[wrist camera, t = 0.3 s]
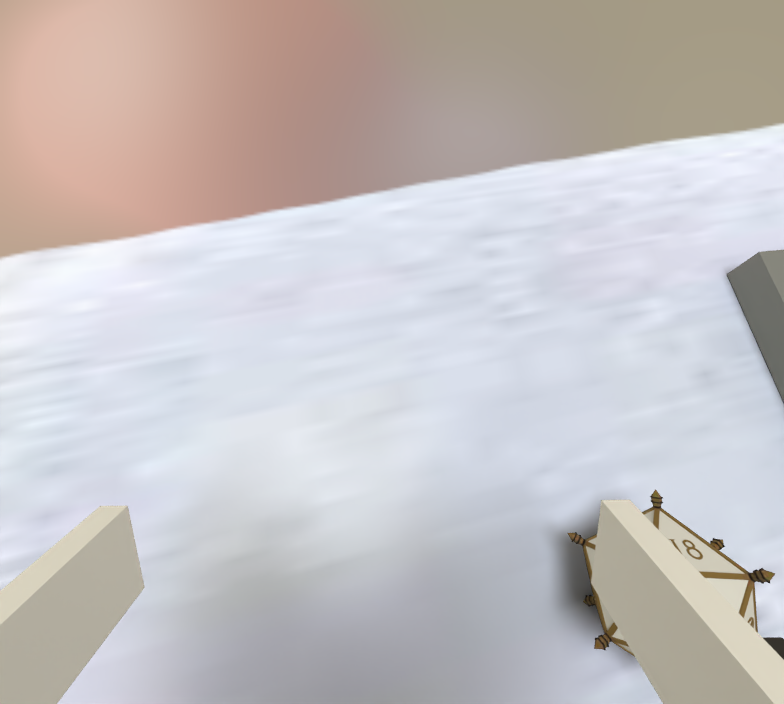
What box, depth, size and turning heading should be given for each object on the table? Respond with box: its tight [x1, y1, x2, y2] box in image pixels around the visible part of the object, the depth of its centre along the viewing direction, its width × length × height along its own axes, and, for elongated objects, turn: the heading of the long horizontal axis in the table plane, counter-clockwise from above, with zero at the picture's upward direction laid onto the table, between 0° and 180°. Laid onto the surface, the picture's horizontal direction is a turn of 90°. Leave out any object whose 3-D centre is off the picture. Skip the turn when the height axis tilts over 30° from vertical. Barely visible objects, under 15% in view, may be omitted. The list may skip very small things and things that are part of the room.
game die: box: [568, 490, 775, 657], centre depth 20 cm, size 9×8×10 cm
